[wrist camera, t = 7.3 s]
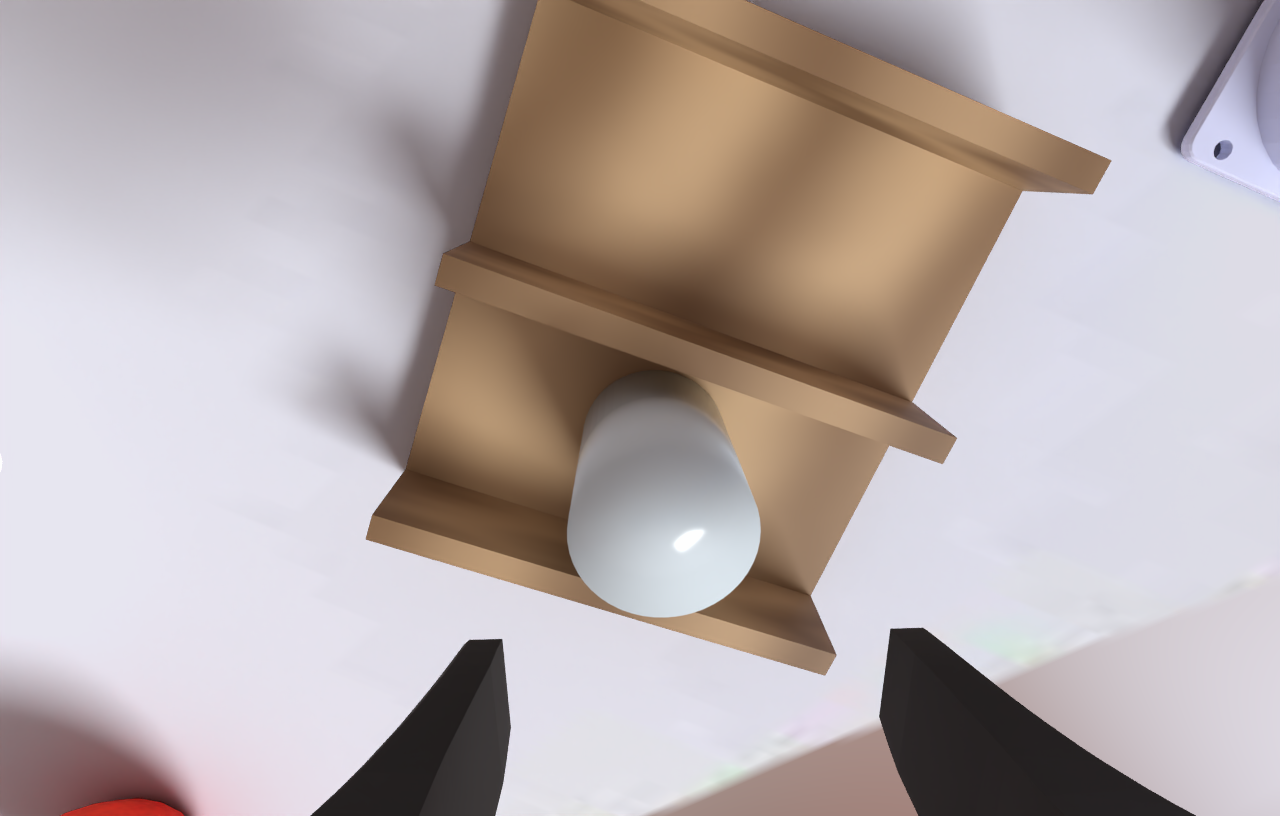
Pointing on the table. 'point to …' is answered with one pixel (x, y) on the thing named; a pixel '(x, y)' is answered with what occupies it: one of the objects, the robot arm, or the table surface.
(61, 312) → the table surface
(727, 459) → the cylinder
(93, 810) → the apple
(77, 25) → the table surface
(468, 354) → the rack
